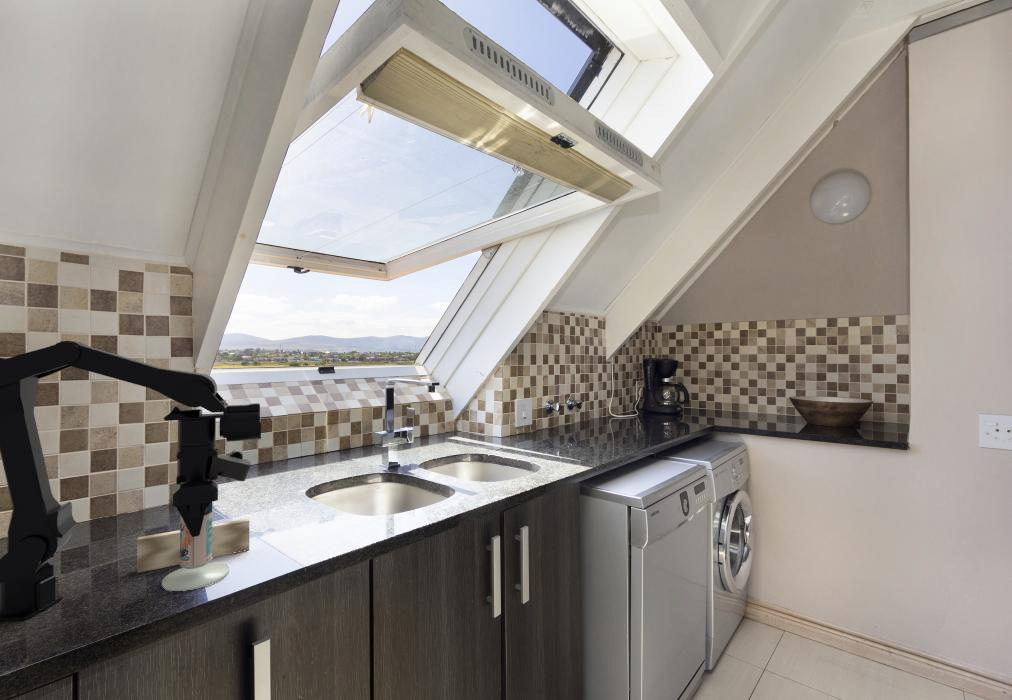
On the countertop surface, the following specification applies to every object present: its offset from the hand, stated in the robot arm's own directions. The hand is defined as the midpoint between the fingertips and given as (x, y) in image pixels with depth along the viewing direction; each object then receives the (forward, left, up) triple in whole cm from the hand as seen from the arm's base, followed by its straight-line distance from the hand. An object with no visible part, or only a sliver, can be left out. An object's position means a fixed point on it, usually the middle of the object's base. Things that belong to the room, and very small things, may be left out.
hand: (195, 531), depth 84 cm
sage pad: (0, 0, -8) cm, 8 cm away
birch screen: (-5, +8, -8) cm, 12 cm away
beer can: (0, 0, -6) cm, 6 cm away
